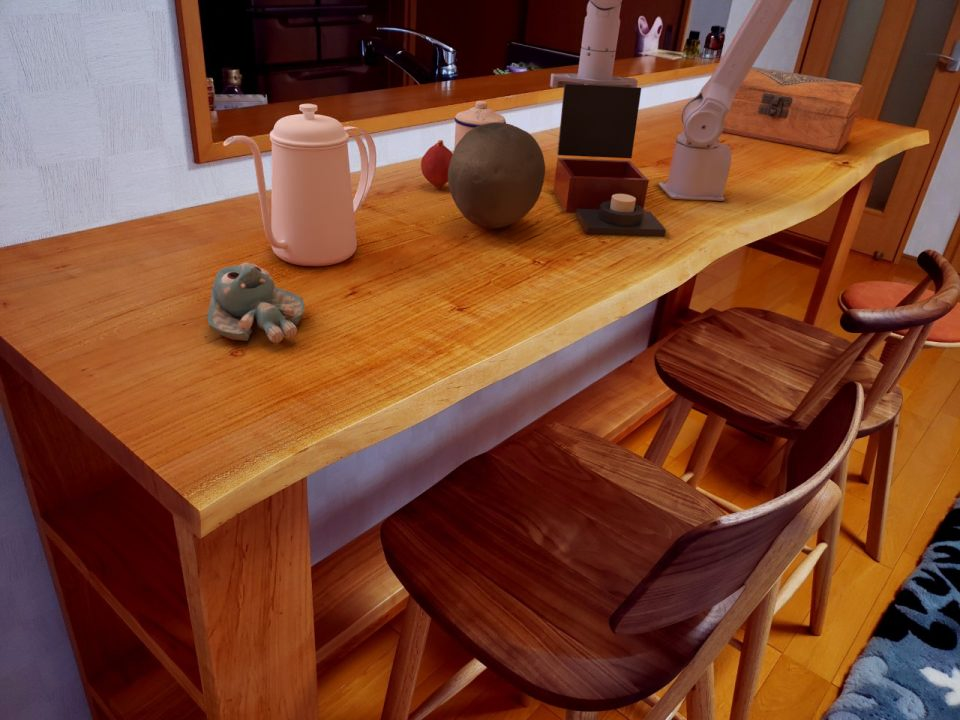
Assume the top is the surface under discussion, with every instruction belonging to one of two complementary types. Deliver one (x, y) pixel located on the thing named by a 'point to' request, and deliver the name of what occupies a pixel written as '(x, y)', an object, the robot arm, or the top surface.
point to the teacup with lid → (474, 119)
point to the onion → (436, 164)
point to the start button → (623, 203)
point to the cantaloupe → (496, 174)
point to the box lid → (598, 120)
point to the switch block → (619, 222)
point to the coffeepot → (312, 187)
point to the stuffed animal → (252, 304)
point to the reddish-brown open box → (596, 182)
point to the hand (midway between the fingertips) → (586, 132)
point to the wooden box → (794, 109)
